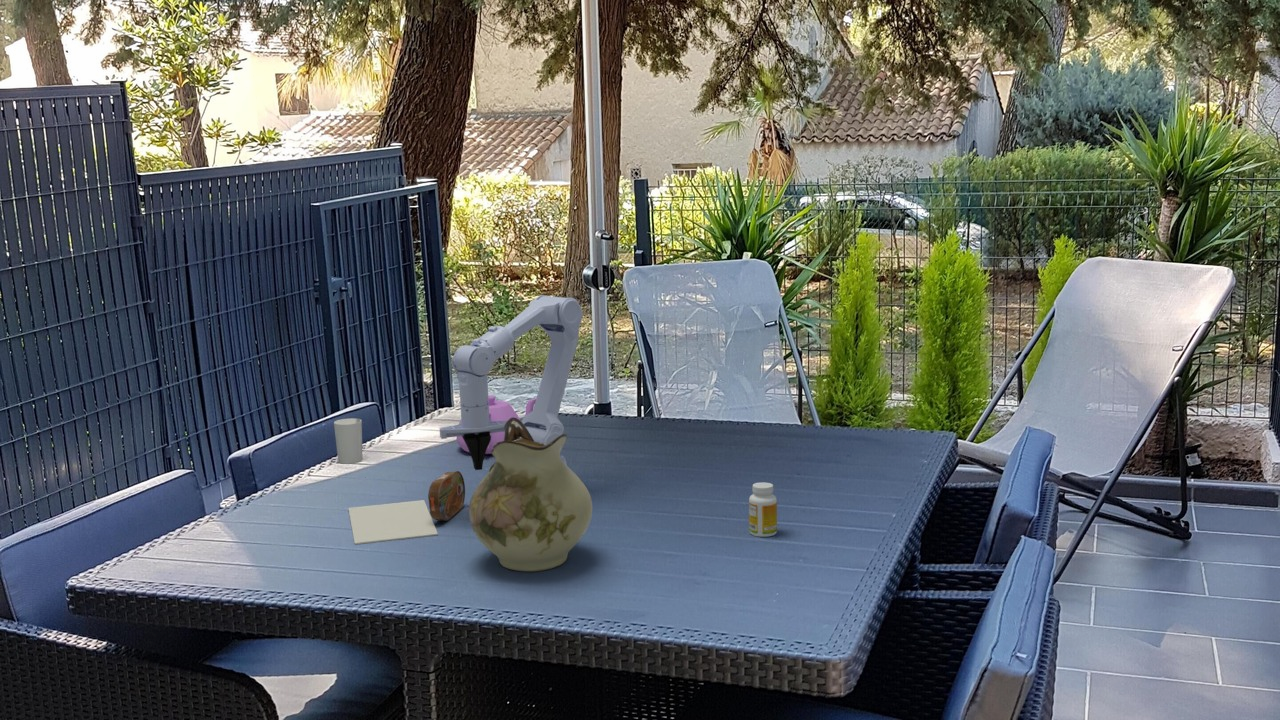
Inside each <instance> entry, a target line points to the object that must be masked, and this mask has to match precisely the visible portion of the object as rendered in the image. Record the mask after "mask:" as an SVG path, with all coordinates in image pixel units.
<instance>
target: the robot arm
mask: <svg viewBox="0 0 1280 720" xmlns="http://www.w3.org/2000/svg"><path fill="white" fill-rule="evenodd" d="M583 316H584V312H583V309H582V306H580V303H579V302H578V300H577V299H576V298H574V297H561V296H550V295H549V296H548V295H545V294H541V295H538V296H537V297H536V298H534V299H533V300H531V301H530V302H529V304H528V306H527V308H525V309H524V310H522V311H521V312H520V313H518V315H517V316H516V317H514V318H513V319H512V320H510V322H508V323H507V324H505V326H502V325H496V326H494V325H491V326H490V327H489V328H487V329H488V331H487V332H485V333H484V334H482V335H481V336H480V337H478V338H475V339H472V343H470V344H469V345H467V344H464V345H461V346H459V347H458V348H457V349H456V350H455V352H454V354H453V358H452V360H451V366H452V369H454V371H455V372H456V379H457V381H459V382H458V386H459V403H460V417H461V418H460V421H461V423H462V424H454V425H449V426H445V427H443V426H442V427H439V437H440V439H441V440H443V439H447V438H457V436H462V437H463V439H464V441H465V443H466V445H467V447H468V449H469V452H470V453H469V452H468V453H469V454H470V456H471V459H472V464H473V469H474V470H475V471H480V470H481V471H482V470H483V465H484V460H485V456H486V454H485V453H486V450H487V447H488V445H489V443H490V440H491V436H490V433H496V432H505V428H504V426H505V424H506V422H507V421H490V419H489V401H488V395H489V386H488V381H489V380H488V374H489V373H490V371H492V368H493V365H494V363H496V361H497V360H499V359H500V358H502V357H503V356H504V355H505V354H507V353H508V352H509V351H510V350H513V348H514V345H515V344H514V343H515V340H517V339H518V338H520V337H522V336H523V335H525V334H526V333H528V332H530V331H531V330H533V329H534V328H536V327H537V326H539V327H540V328H541V329H542V330H543V331H544V333H545V334H546V335H548V337H549V339H550V342H551V344H550V347H549V351H548V354H547V355H548V356H547V357H546V362H545V366H544V370H543V373H542V377H541V380H540V384H539V386H538V390H537V394H536V397H535V398H536V401H535V404H534V407H533V411H532V412H531V413H529V414H528V415H526V416H525V415H524V416H523V417H522V420H521V421H522V423H523V424H524V425H525V427H526V428H527V430H528V431H529V433H530V434H531V436H532V438H533V440H534V441H535V442H539V443H543V444H544V445H547V444H548V443H550V442H551V441H553V440H554V439H556V438H557V437H559V436H560V435H562V434H564V432H565V427H564V425H563V423H562V422H561V421H560V419H559V418H558V416H559V412H560V409H561V406H562V405H561V404H562V402H563V398H564V395H565V394H564V393H565V390H566V386H567V383H568V379H569V375H570V372H571V367H572V364H573V361H574V356H575V353H576V349H577V346H578V343H579V330H580V326H581V323H582V319H583ZM543 427H544V428H543ZM563 447H564V445H563V446H562V448H561V451H560V453H561V452H562V450H563ZM560 457H561V460H562V461H563V462H564V464H565V465H566V466H567V467H568V465H567V461H566V457H565V455H561V454H560Z"/></svg>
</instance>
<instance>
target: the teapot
mask: <svg viewBox="0 0 1280 720" xmlns="http://www.w3.org/2000/svg"><path fill="white" fill-rule="evenodd" d="M536 398H537V397H535V398H532V399H530V400H527V403H526V406H525V414H524V417H525V416H526V415H528V414H529V413H531V412H532V411H533V409H534V405H535V401H536ZM488 401H489V419H490V421H508V420H509V419H510V418H512V417H514V418H517V419H519V420H520V421H521V422H522V420H521V418H520V417H519V415H518V413H517V412H516V411H515V409H514V408H513V406H512V405H511V404H510V403H509V402H508V401H503V400H498V399H496V395H494V394H493V395H491V394H490V395H489V394H488ZM459 424H462V423H461V420H460V421H459ZM459 424H458V425H459ZM490 436H491V440H490V443H489V445H488V447H487V450H486V453H485V455H492V453H491V450H492V449H493V446H494V445H496V444H497V443H498V442H502V441H504V436H505V432H496V433H490ZM456 442H457V444H458V446H460V447H461V449H462V450H463V451H465V452H467V453H469V454H470V452H469V449H468V447H467V445H466V443H465V441H464V439H463V437H462V436H457V437H456Z"/></svg>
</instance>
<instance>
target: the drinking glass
mask: <svg viewBox="0 0 1280 720" xmlns="http://www.w3.org/2000/svg"><path fill="white" fill-rule="evenodd" d="M333 426H334V427H333V428H334V436H335V445H336V454H337V462H338V463H339V464H341V465H342V464H343V465H352V464H353V465H354V464H358V463H360V462H362V461H363V421H362V419H360V418H352V417H351V418H342V419H337V420H334V422H333Z"/></svg>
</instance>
